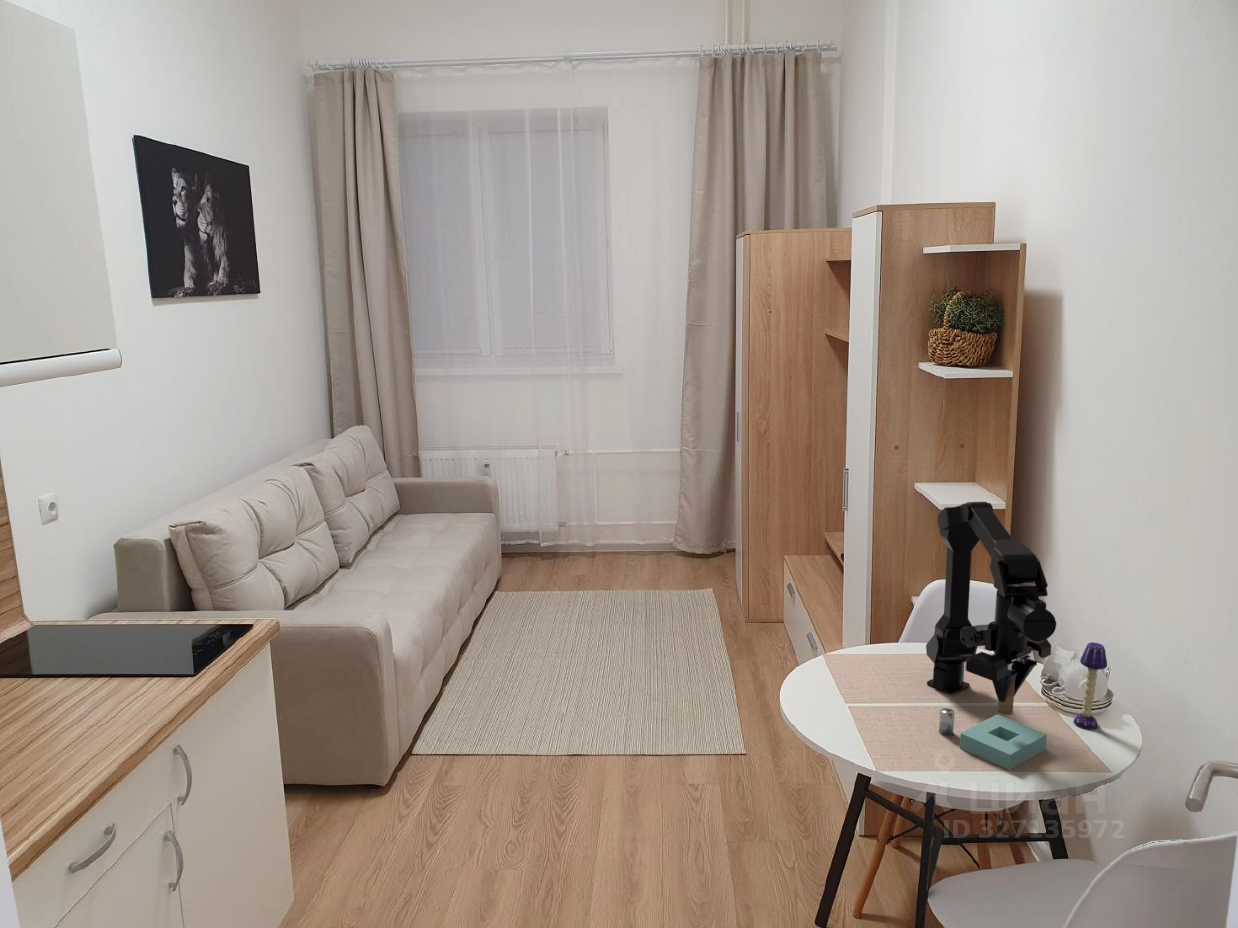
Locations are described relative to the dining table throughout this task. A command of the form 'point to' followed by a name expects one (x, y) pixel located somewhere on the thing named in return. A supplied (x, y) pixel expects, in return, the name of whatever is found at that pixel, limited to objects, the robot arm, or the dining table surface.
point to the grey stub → (946, 722)
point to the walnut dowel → (1007, 702)
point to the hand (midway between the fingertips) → (1005, 698)
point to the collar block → (1003, 741)
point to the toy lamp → (1090, 682)
